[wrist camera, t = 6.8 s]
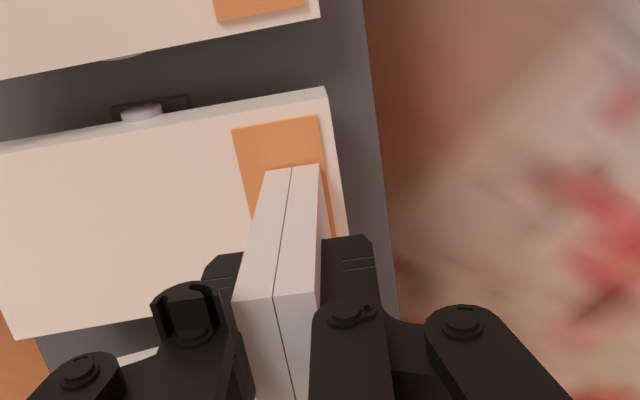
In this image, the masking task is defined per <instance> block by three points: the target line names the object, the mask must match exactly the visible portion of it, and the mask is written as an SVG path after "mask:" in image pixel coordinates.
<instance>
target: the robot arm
mask: <svg viewBox="0 0 640 400" xmlns="http://www.w3.org/2000/svg"><path fill="white" fill-rule="evenodd" d="M149 306H150V309H151V312H152V315H153V318H154V321H155V324H156V326H157V329H158V332H159V335H160V338H161V343H160V345H159V348H158V350H157V353H156V354H155V355H153V356H150V357H148V358H145V359H143V360H140V361H137V362H134V363H131V364H128V365H125V366H122V367H120V366H119V363H118V360H117V359H116V358H115V357H114V356H113V355H112V354H111V353H107V352H103V351H99V352H89V353H86V354H82V355H79V356H76V357H74V358H72V359H70V360H69V361H67V362H65V363H63V364H61V365H60V366H59V367H58V368H57V369H55V370H54V371H53V372H52V373H51V374H50V375H49V376H48V377H47V378H46V379H45V380H44V381H43V382H42V383H41V384H40V385H39V387H38V388H37V389H36V390H35V391H34V392H33V393H32V394H31V395H30V396H29V397H28V398H27V399H26V400H255V396H256V400H573V399H572V398H571V397H570V396H569V394H568V393H567V392H566V391H565V390H564V389H563V388H562V387H561V386H560V385H559V383H558V382H557V381H556V380H555V379H554V378H553V377H552V376H551V375H550V374H549V372H548V371H547V370H546V369H545V368H544V367H543V366H542V365H541V364H540V362H539V361H538V360H537V359H536V358H535V357H534V356H533V355H532V354H531V353H530V351H529V350H528V349H527V348H526V347H525V346H524V345H523V344H522V343H521V342H520V340H519V339H518V338H517V337H516V336H515V335H514V334H513V333H512V332H511V330H510V329H509V328H508V327H507V326H506V325H505V324H504V323H503V322H502V321H501V319H500V318H499V317H498V316H496V315H495V314H494V313H492V312H491V311H489V310H488V309H485V308H482V307H479V306H476V305H465V304H459V305H452V306H446V307H444V308H441V309H439V310H437V311H434V312H433V313H432V314H431V315H430V316H429V317H428V318H427V319H426V322H425V325H421V324H413V323H407V322H403V321H400V320H397V319H395V318H393V317H392V316H390V315H389V314H388V313H387V312H386V311H385V310H384V309H383V307H382V304H381V299H380V292H379V285H378V278H377V272H376V265H375V258H374V252H373V245H372V242H371V241H369V240H368V239H367V238H366V237H365V236H364V235H363V234H357V235H350V236H342V237H335V238H332V237H331V231H330V225H329V219H328V213H327V208H326V202H325V196H324V190H323V184H322V178H321V172H320V167H319V163H316V164H309V165H302V166H296V167H293V168H292V167H289V168H282V169H275V170H268V171H266V172H265V175H264V179H263V183H262V187H261V190H260V194H259V198H258V202H257V205H256V209H255V213H254V217H253V220H252V224H251V228H250V232H249V235H248V239H247V243H246V247H245V250H244V251H243V252H236V253H229V254H221V255H217V256H216V257H215V258H214V259H213V260H212V261H211V262H210V263H209V264H208V265H207V266H206V267H205V269H204V272H203V274H202V277H201V280H200V281H188V282H184V283H180V284H177V285H175V286H172V287H170V288H168V289H166V290H164V291H163V292H161V293H160V294H159V295H157V296H156V297H155V298H154V299H153V301H152V302H151V303H150V304H149Z"/></svg>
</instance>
